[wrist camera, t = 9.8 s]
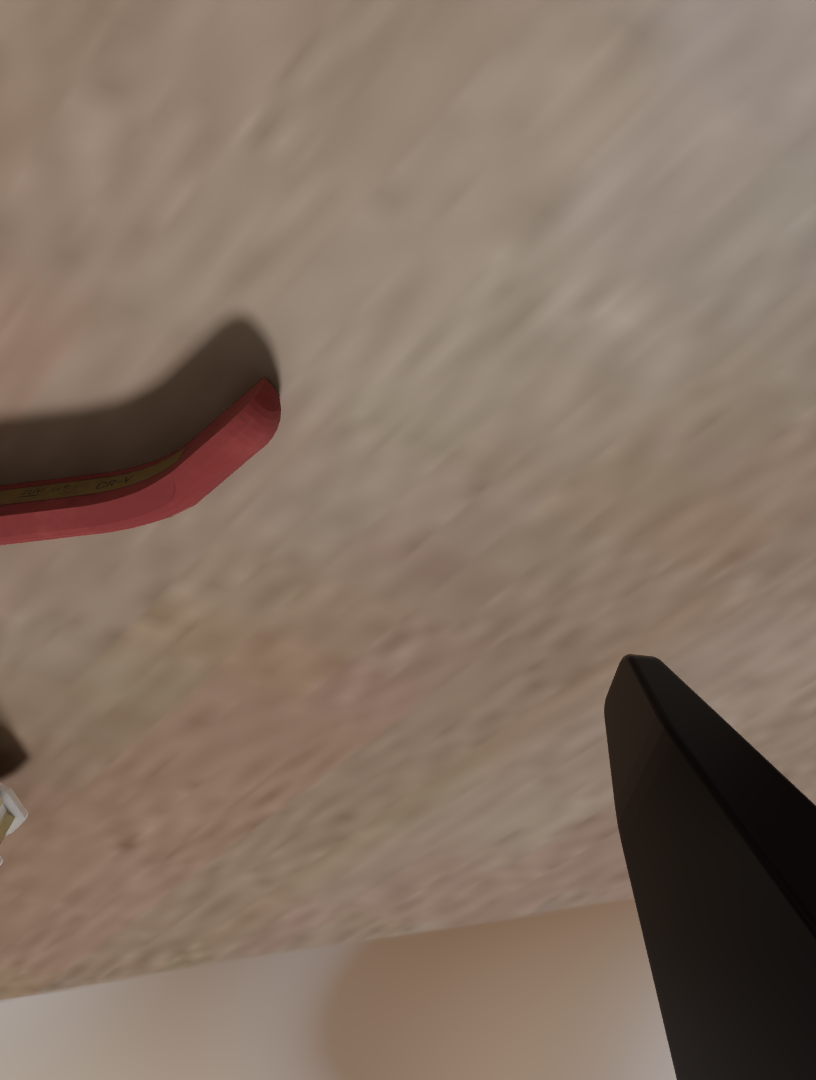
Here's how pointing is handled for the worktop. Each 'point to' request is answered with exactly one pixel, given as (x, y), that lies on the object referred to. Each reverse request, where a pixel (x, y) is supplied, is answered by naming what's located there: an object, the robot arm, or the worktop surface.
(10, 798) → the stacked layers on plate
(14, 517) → the pliers
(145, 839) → the worktop surface
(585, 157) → the worktop surface
